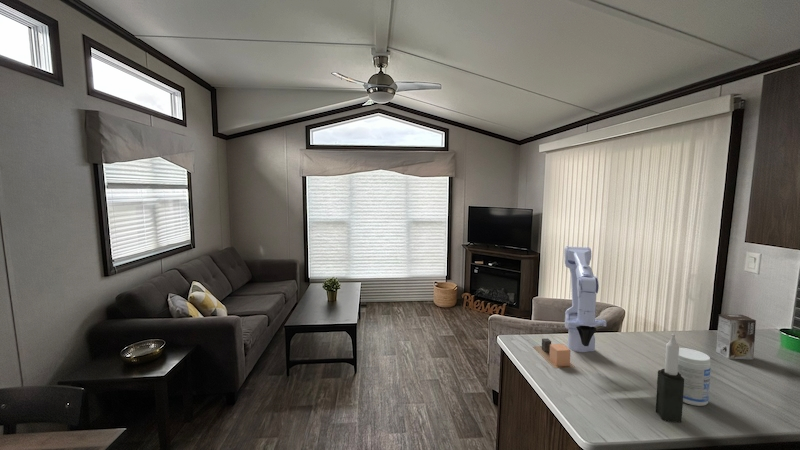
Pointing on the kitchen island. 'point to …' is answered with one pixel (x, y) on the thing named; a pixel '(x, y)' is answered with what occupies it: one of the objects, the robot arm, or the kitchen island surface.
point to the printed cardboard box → (736, 336)
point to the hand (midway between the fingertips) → (585, 345)
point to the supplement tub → (694, 376)
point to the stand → (548, 353)
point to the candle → (670, 386)
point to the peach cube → (559, 355)
